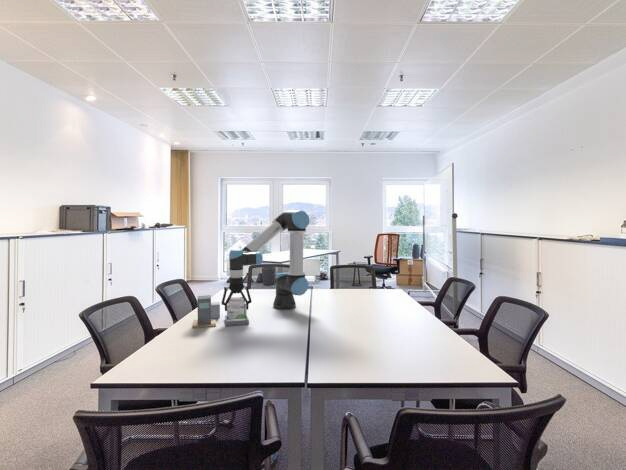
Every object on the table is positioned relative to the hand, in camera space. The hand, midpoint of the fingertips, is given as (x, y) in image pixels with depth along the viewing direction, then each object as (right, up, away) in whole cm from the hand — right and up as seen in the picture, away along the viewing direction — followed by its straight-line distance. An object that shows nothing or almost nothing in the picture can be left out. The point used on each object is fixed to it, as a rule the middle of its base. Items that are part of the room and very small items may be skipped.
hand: (236, 315), depth 194 cm
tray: (0, -3, 0) cm, 3 cm away
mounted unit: (-17, -4, -4) cm, 18 cm away
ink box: (0, -1, 0) cm, 1 cm away
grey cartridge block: (-15, -3, +11) cm, 19 cm away
